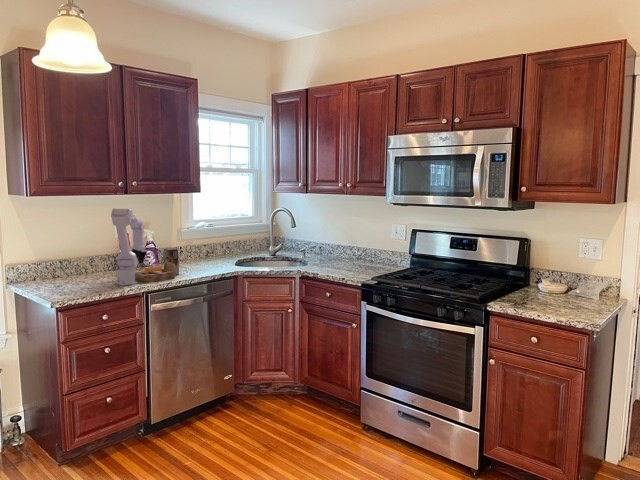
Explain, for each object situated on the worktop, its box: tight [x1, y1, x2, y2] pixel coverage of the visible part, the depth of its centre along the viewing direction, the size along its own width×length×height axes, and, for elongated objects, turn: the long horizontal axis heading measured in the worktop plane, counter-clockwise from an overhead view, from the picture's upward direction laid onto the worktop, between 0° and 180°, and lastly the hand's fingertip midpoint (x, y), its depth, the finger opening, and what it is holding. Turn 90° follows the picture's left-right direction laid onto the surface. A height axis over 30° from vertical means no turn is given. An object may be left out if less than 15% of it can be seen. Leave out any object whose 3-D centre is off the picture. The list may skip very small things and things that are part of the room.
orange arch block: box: [143, 265, 163, 275], centre depth 285 cm, size 10×2×6 cm, turn 137°
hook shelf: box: [135, 268, 176, 284], centre depth 285 cm, size 20×14×5 cm
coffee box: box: [162, 248, 180, 276], centre depth 301 cm, size 9×6×16 cm
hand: (138, 262), depth 288 cm, fingers open, 7 cm apart
